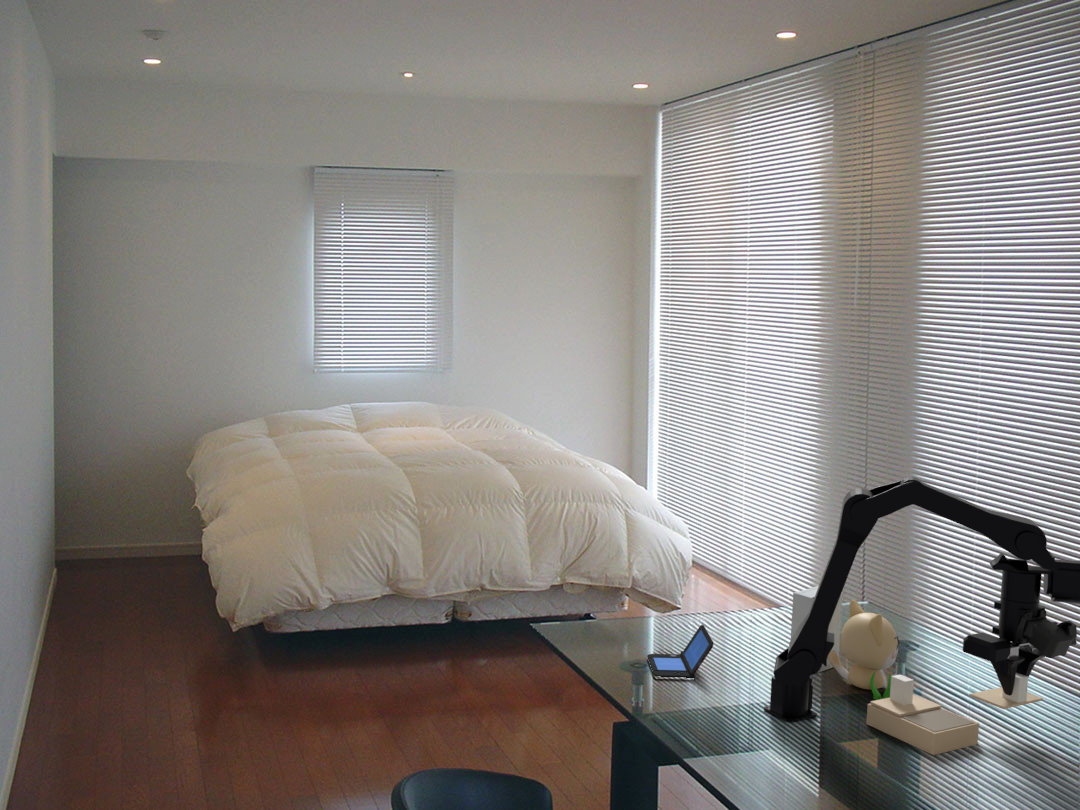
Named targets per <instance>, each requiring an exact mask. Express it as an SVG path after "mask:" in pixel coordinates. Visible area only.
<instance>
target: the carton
mask: <svg viewBox="0 0 1080 810" xmlns="http://www.w3.org/2000/svg"><path fill="white" fill-rule="evenodd" d="M866 725H868V726H870V727H872V728H874V729H876V730H878V731H880V732H883V733H885V734H887V735H889V736H892V737H894V738H896V739H898V740H900V741H902V742H905V743H907V744H909V745H911V746H913V747H915V748H918V749H919V750H921V751H924V752H926V753H928V754H930V755H931V756H935V755H939V754H944V753H946V752H947V753H948V752H951V751H955V750H961V749H964V748H968V747H971V746H973V747H974V746H976V745H978V744H979V730H980V723H979V722H977V721H974V720H972V719H969V718H967V717H964V716H962V715H959V714H957V713H955V712H953V711H950V710H947V709H945V708H943V707H941V708H939V709H934V710H929V711H925V712H920V713H915V714H911V715H906V716H902V717H899V716H897V715H895V714H892V713H890V712H888V711H886V710H883V709H881V708H879V707H876V706H874V705H872V704H870V703H867V709H866Z"/></svg>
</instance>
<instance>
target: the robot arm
mask: <svg viewBox="0 0 1080 810" xmlns="http://www.w3.org/2000/svg"><path fill="white" fill-rule="evenodd" d="M912 505H914V506H916V507H919V508H921V509H924V510H926V511H928V512H931V513H933V514H935V515H937V516H940V517H943V518H945V519H947V520H948V521H951V522H954V523H956V524H959V525H961V526H963V527H965V528H967V529H970V530H971V531H975V532H976V533H980V534H981V535H983V536H984V537H986V538H987V539H989V540H990V541H992V542H993V543H995V544H996V545H998V546H999V547H1000V548H1002V549H1003V550H1005V551H1007V552H1008V553H1010V554H1011V555H1012V556H1014V557H1016V558H1008V557H1006V555H1005V554H1004V553H1003V552H1000V553H999V554H998V555H997V556H996V557H995V558H993V559H992V560H990V561H989V565H990V567H991V568H992V570H993V571H994V570H995V571H1002V573H1001V574H1002V576H1001V589H1000V599H999V600H996V601H994V602H993V603H994V604H993V608H994V609H996V610H999V611H998V612H999V616H998V625H995V626H992V628H991V629H992V631H991V633H992V634H994V635H998V637H997V636H994V635H992V634H988V633H986V632H978V633H972V634H968V635H966V636H965V637H964V638H963V640H962V641H963V642H962V652H963V653H966V654H968V655H971V656H974V657H977V658H980V659H982V660H985V661H989V662H990V663H991V665H992V667H993V670H994V671H995V674H996V676H997V679H998V681H999V683H1000V686H1001V687H1002V688H1003V691H1004V693H1005V694H1006V695H1009V696H1010V695H1012V692H1013V688H1014V682H1015V676H1016V673H1019V674H1022V675H1025V676H1028V678H1029V677H1030V676H1031V673H1032V670H1033V669H1034V667H1035V665H1036V664H1037V662H1038V661H1040V660H1042V659H1044V658H1047V659H1054V658H1055V657H1064V656H1066V655H1067V653H1068V650H1069V649H1070V647H1072V646H1076V645H1077V644H1078V643H1077V637H1078V634H1077V631H1078V630H1077V629H1078V628H1077V625H1076V624H1075V623H1073V621H1071V620H1066V621H1061V622H1060V623H1058V622H1057V621H1050V620H1049V619H1048V618H1047V610H1046V607H1045V606H1041V605H1040V601H1041V587H1042V588H1043V589H1042V590H1043V594H1044V595H1046V596H1048V595H1049V596H1050V597H1049V598H1050V601H1051V602H1053V603H1064V604H1074V605H1080V559H1079V560H1069V559H1058V558H1057V559H1056V556H1054V555H1053V553H1052V552H1051V551H1050V550H1048V548H1047V544H1048V542H1047V541H1048V540H1047V536H1046V534H1045V532H1044V531H1043V530H1042V528H1041V527H1040V526H1039V525H1037V523H1036V522H1035V521H1034V520H1032V519H1030V518H1028V517H1027V518H1026V517H1024V516H1020V515H1015V514H1011V513H1007V512H999V511H995V510H990V509H987V508H984V507H982V506H980V505H979V504H976V503H973V502H971V501H968V500H966V499H963V498H961V497H959V496H957V495H954V494H951V493H950V492H947V491H944V490H942V489H940V488H938V487H935V486H933V485H930V484H929V483H926V482H923V481H922V480H921V479H919V478H917V476H916V477H915V476H906V477H904V478H903V479H900V480H898V481H894V482H890V483H887V484H883V485H879V486H876V487H873V488H870V489H866V488H861V487H860V488H854V489H851V490H850V491H848V492H847V493H846V494H845V496H844V498H843V500H842V506H841V511H840V512H841V513H840V517H839V523H838V527H837V528H838V529H837V536H836V540H835V542H834V545H833V548H832V550H831V553H830V555H829V558H828V561H827V563H826V566H825V569H824V571H823V574H822V576H821V579H820V582H819V584H818V586H819V587H818V589H817V592H816V595H815V597H814V600H813V603H812V605H811V608H810V610H809V613H808V614H807V616H806V617H805V619H804V620H803V621H802V623H801V624H800V626H799V627H798V629H797V630H796V632H795V634H794V635H793V637H792V639H791V638H790V640H789V645H788V647H787V648H785V650H783V651H782V652H781V653H780V654H778V655H777V656H776V658H775V663H774V668H773V676H771V680H770V681H771V683H770V699H769V700H770V703H769V705H765V706H763V710H764V711H766V712H768V713H769V714H771V715H774V716H775V717H777V718H779V719H782V720H784V721H785V722H789V723H791V722H796V721H800V720H805V719H810V718H811V719H812V718H816V717H818V713H817V712H816V711H813V710H812V709H813V696H814V686H813V678H812V677H811V676H813V675H815V674H818V673H819V672H818V671H819V670H820V668H821V667H822V664H823V665H824V666H827V657H828V655H829V653H830V651H831V650H832V648H833V646H834V633H829V632H828V628H829V624H830V622H831V619H832V616H833V614H834V611H835V609H836V606H837V603H838V601H839V598H840V595H841V593H843V590H844V588H845V585H846V582H847V579H848V577H849V574H850V572H851V570H852V566H853V564H854V562H855V558H856V556H857V554H858V551H859V550H860V548H861V546H862V545H863V544H864V542H865V541H866V540H867V538H868V537H869V535H870V534H871V532H872V530H873V529H874V527H875V525H876V524H877V522H878V521H879V519H881V518H883V517H886V516H889V515H891V514H893V513H896V512H898V511H900V510H902V509H904V508H906V507H909V506H912ZM1028 561H1032V562H1034V563H1035V564H1037V566H1036V565H1030V564H1028ZM1042 574H1043V575H1042ZM1042 576H1043V582H1042ZM1042 583H1043V585H1042ZM1041 585H1042V586H1041ZM817 672H818V673H817Z"/></svg>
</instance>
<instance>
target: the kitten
mask: <svg viewBox="0 0 1080 810" xmlns="http://www.w3.org/2000/svg"><path fill="white" fill-rule="evenodd" d="M848 617H849V618H848V620H847V621H846V622H845V623H844V625H843V627H842V628H841V629H842V630H841V631H840V645H839V649H840V651H841V654H842V655H843V656H844V658H846V659H847V660H848V661H849V662H851V663H852V664H853V665H852V666H851V667H850V668H849V670H847V669H846V668H845V666H843V664H842V663H841V660H840V656H839V657H838V655H837V653H836V652H835V651H833V650H831V651H830V653H829V655H828V660H829V662H830V664H831V665H832V666H833V668H834V669H835V671H836V672H837V673H838V675H840V676H841V677H842V678H843V679H844V680H846V681H848V682H849V683H851V684H852V685H853V686H855V687H856V688H859V689H863V690H871V691H872V694H873V700H880V699H885V698H890V688H891V676H892V675H891V673H890V672H889V673H888V679H887V677H886V673H885V672H884V670H886V669H887V668H890V667H891V666H892V665H893V664H894V663H895V661H896V659H897V656H898V651H899V647H900V646H899V645H900V640H899V636H897V633H896V631H895V628H894V627H893V625H892V624H891V622H889V621H888V620H887V618H886V617H884V616H882V614H881V613H873V612H865V611H864V609H863V607H862V606H861V605H860V603H859V602H858V601H857V600H856V599H852V600H850V602H849V615H848ZM881 688H882V689H885V690H884V693H883V695H882V694H881V693H880V691H879V689H881Z"/></svg>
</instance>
